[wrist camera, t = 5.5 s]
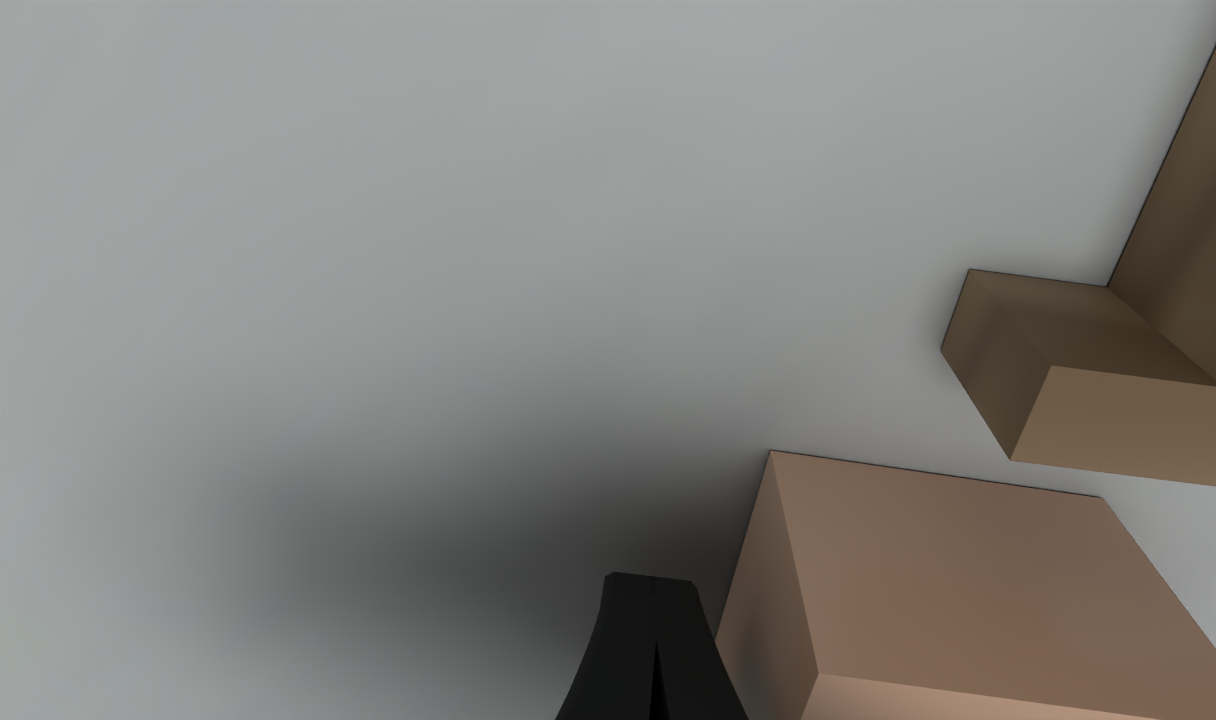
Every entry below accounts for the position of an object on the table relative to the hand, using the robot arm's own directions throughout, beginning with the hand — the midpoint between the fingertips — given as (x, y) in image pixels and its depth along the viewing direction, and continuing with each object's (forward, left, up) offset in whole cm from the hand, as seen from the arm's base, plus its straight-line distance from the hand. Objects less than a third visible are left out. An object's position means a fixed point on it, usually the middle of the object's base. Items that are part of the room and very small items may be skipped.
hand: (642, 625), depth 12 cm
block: (0, -4, -1) cm, 4 cm away
